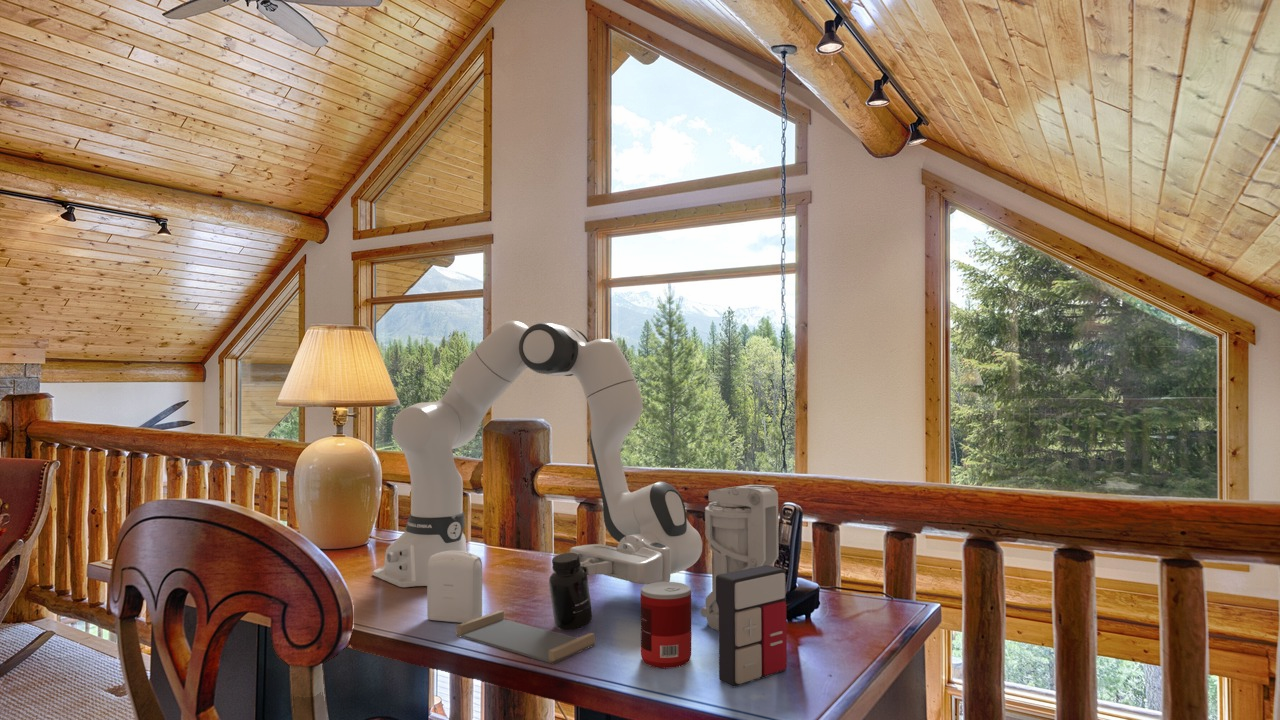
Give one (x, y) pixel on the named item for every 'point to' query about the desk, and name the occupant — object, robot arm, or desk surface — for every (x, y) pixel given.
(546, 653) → the felt tray
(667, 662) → the canned food
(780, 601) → the calculator
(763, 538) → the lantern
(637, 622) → the desk surface
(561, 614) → the supplement bottle
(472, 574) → the photo printer
